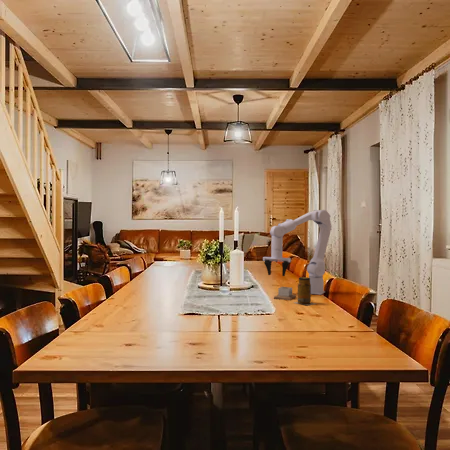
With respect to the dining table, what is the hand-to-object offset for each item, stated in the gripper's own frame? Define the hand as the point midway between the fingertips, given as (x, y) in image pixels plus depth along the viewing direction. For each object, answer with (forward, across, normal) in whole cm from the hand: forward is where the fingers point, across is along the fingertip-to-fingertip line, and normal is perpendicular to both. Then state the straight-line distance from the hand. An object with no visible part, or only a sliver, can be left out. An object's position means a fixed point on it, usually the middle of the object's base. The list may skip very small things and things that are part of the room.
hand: (276, 275), depth 233 cm
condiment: (+10, +20, -16) cm, 27 cm away
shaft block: (+10, +7, -7) cm, 14 cm away
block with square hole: (+9, +7, -7) cm, 13 cm away
